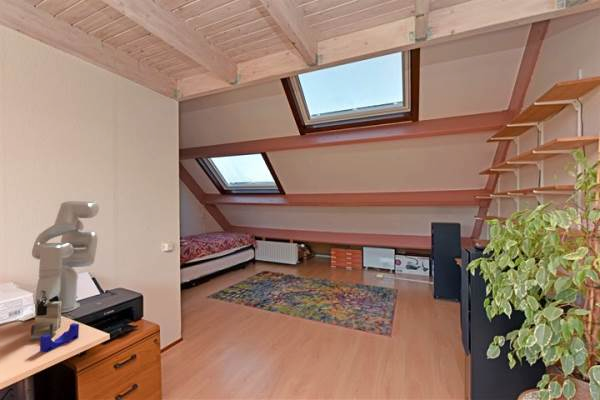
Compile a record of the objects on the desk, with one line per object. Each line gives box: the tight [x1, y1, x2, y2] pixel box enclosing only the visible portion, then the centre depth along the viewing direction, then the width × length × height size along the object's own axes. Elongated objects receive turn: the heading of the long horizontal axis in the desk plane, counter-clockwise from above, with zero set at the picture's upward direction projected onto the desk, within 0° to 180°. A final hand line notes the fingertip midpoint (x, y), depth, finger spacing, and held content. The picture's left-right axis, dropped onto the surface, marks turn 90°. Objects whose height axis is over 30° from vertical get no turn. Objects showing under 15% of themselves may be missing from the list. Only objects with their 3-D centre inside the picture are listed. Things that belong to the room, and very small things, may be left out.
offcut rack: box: [29, 324, 57, 342], centre depth 113 cm, size 4×7×6 cm, turn 110°
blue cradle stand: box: [39, 322, 80, 353], centre depth 110 cm, size 12×4×6 cm, turn 165°
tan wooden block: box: [34, 301, 62, 331], centre depth 120 cm, size 3×8×12 cm, turn 110°
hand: (48, 311), depth 120 cm, fingers open, 9 cm apart
